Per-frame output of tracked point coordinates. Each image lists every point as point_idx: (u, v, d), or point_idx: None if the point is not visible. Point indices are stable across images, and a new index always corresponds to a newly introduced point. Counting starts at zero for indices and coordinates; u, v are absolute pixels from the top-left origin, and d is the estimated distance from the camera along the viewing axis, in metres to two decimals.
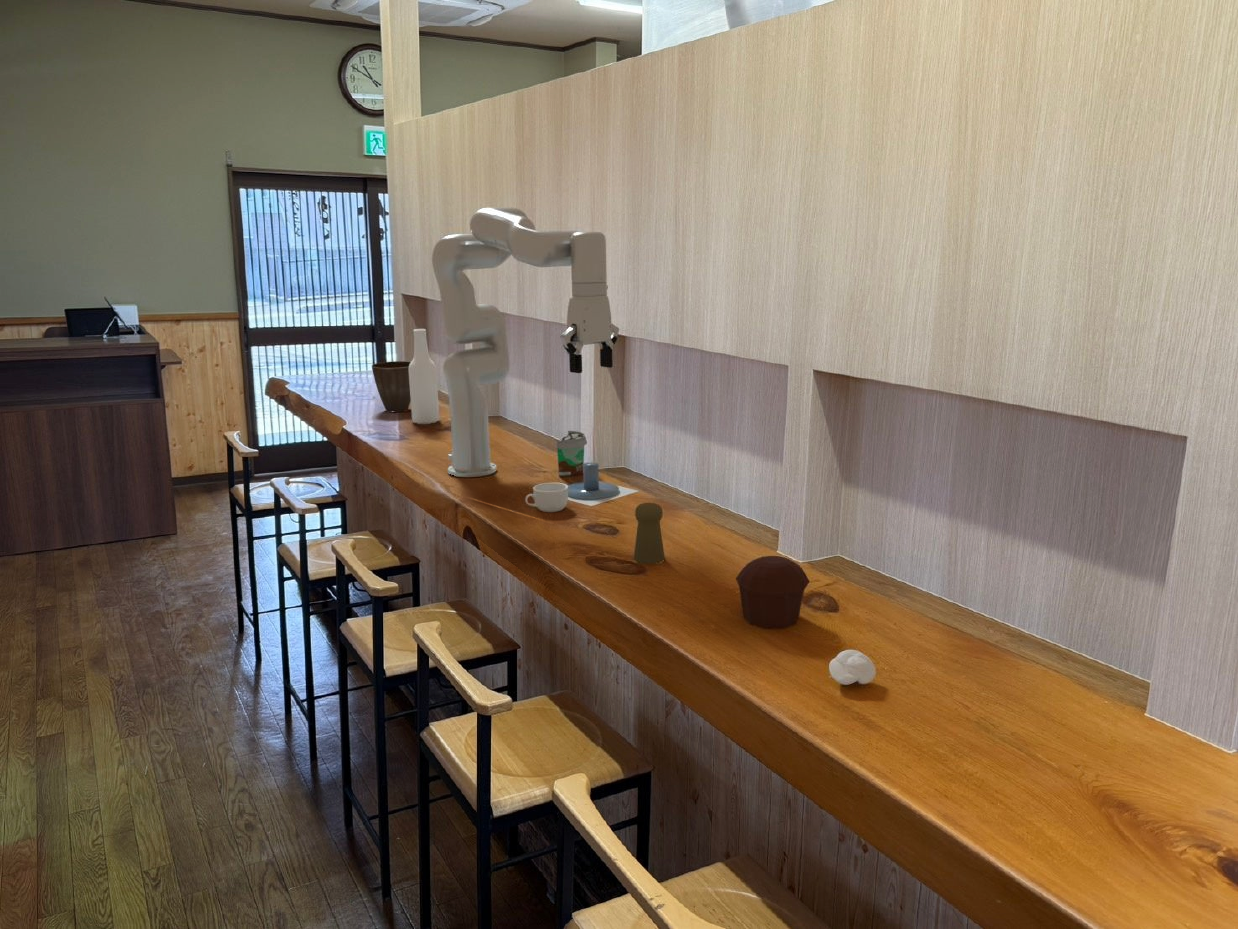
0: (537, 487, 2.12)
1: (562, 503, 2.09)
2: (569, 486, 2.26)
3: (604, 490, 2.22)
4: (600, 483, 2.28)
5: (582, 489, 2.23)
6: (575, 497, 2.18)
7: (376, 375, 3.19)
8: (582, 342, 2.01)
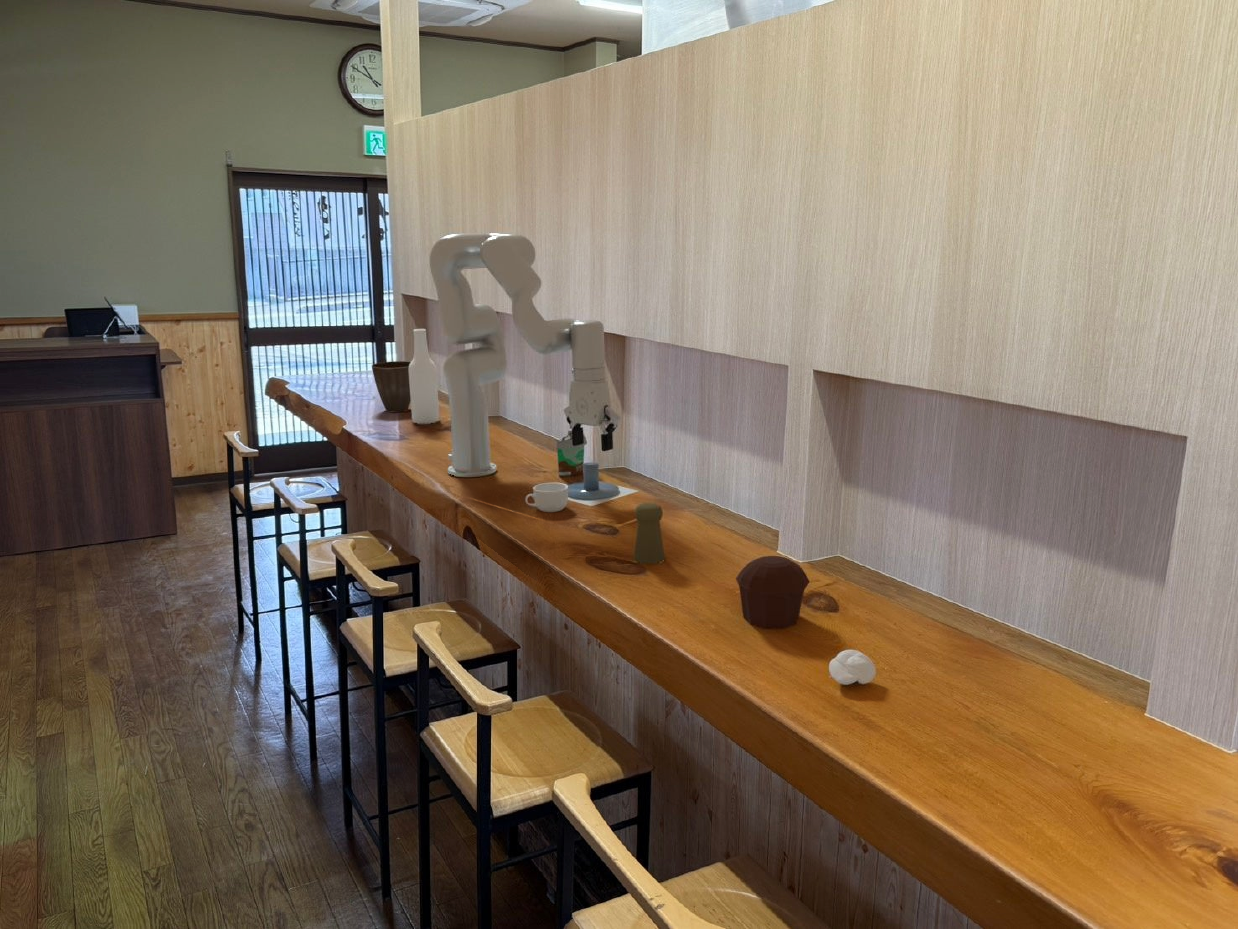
0: (537, 487, 2.12)
1: (562, 503, 2.09)
2: (569, 486, 2.26)
3: (604, 490, 2.22)
4: (600, 483, 2.28)
5: (582, 489, 2.23)
6: (575, 497, 2.18)
7: (376, 375, 3.19)
8: None
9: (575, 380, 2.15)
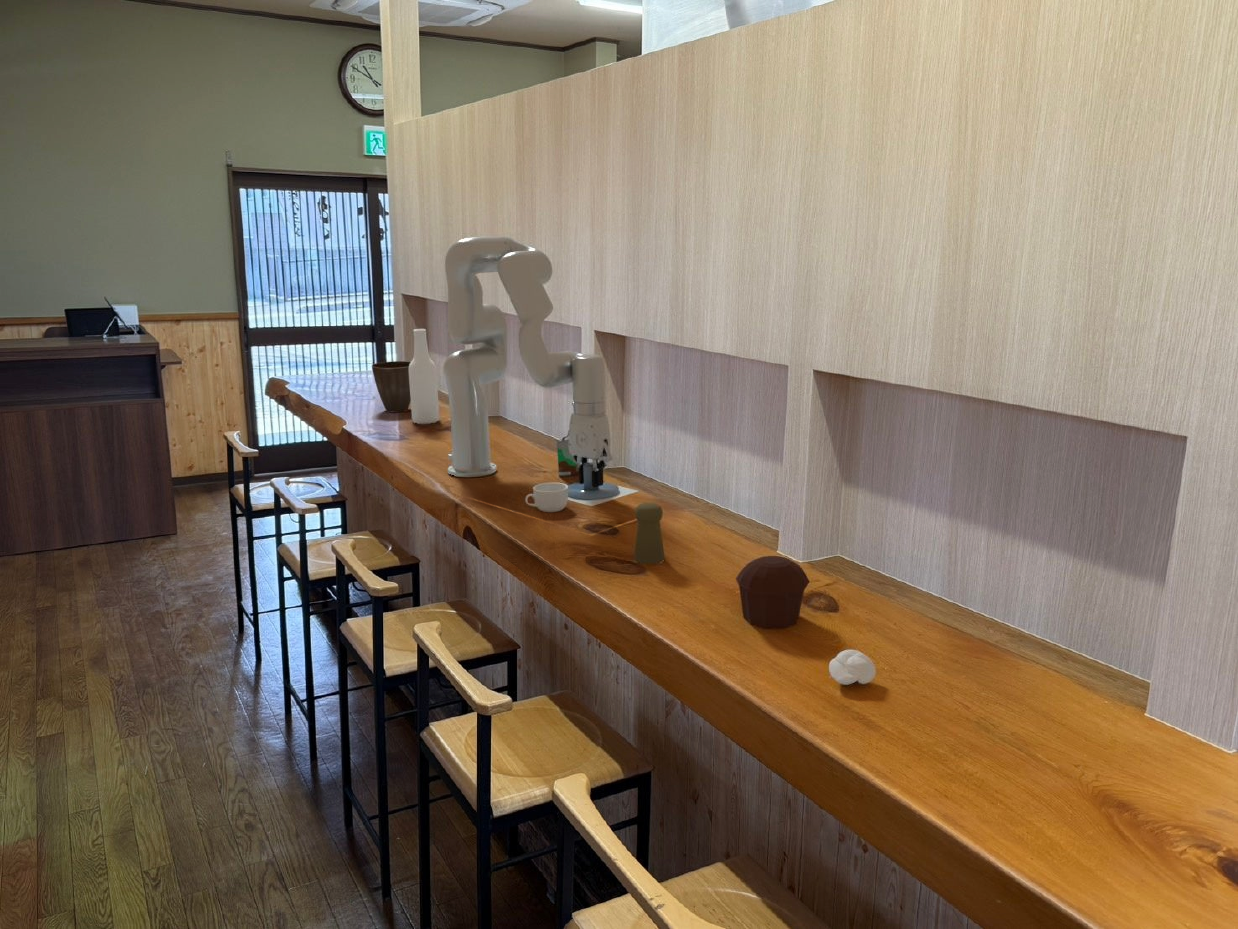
0: (537, 487, 2.12)
1: (562, 503, 2.09)
2: (569, 486, 2.26)
3: (604, 490, 2.22)
4: None
5: (582, 489, 2.23)
6: (575, 497, 2.18)
7: (376, 375, 3.19)
8: None
9: (575, 413, 2.17)
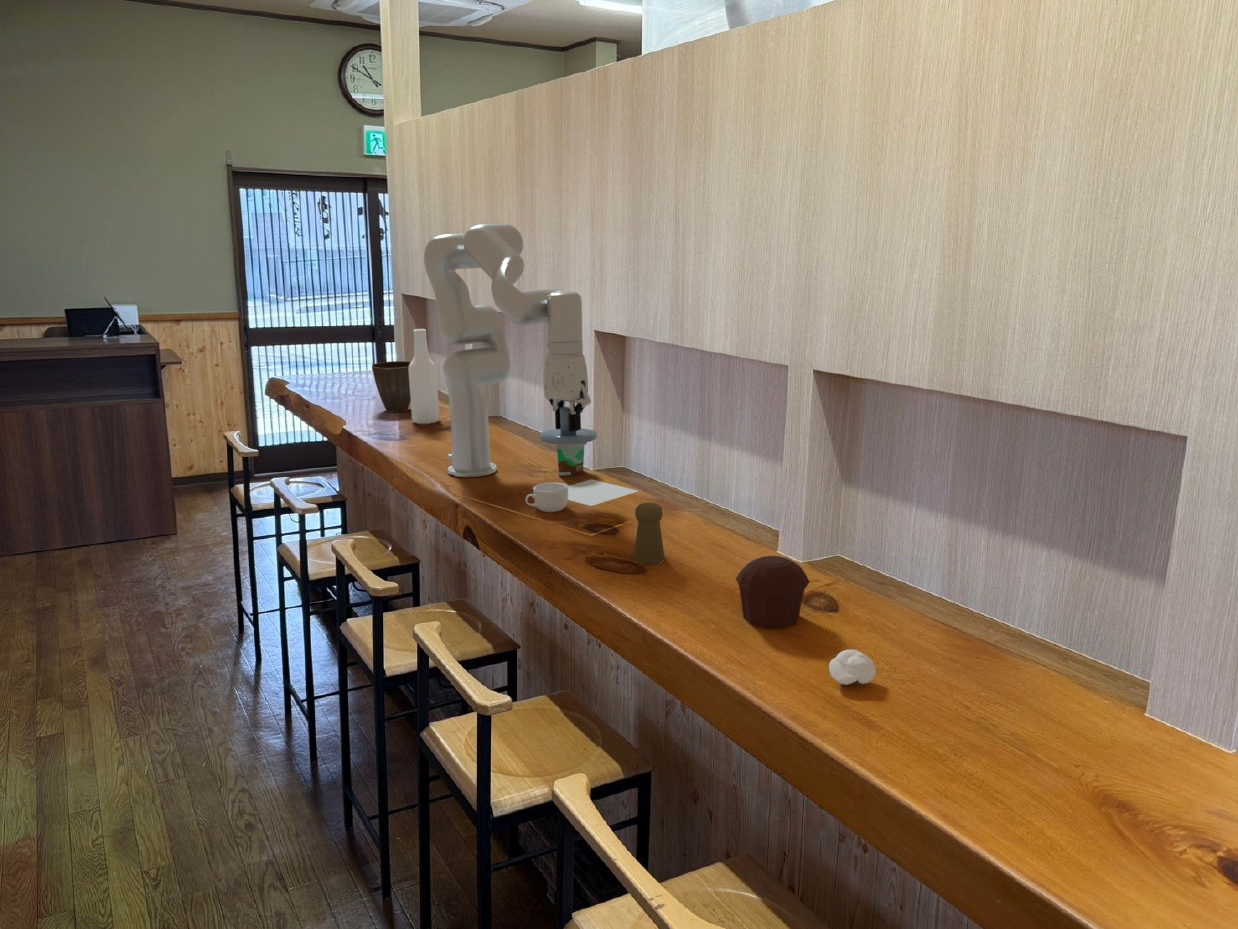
0: (537, 487, 2.12)
1: (562, 503, 2.09)
2: (545, 432, 2.16)
3: (582, 435, 2.12)
4: None
5: (559, 434, 2.13)
6: (552, 441, 2.08)
7: (376, 375, 3.19)
8: None
9: (551, 354, 2.07)
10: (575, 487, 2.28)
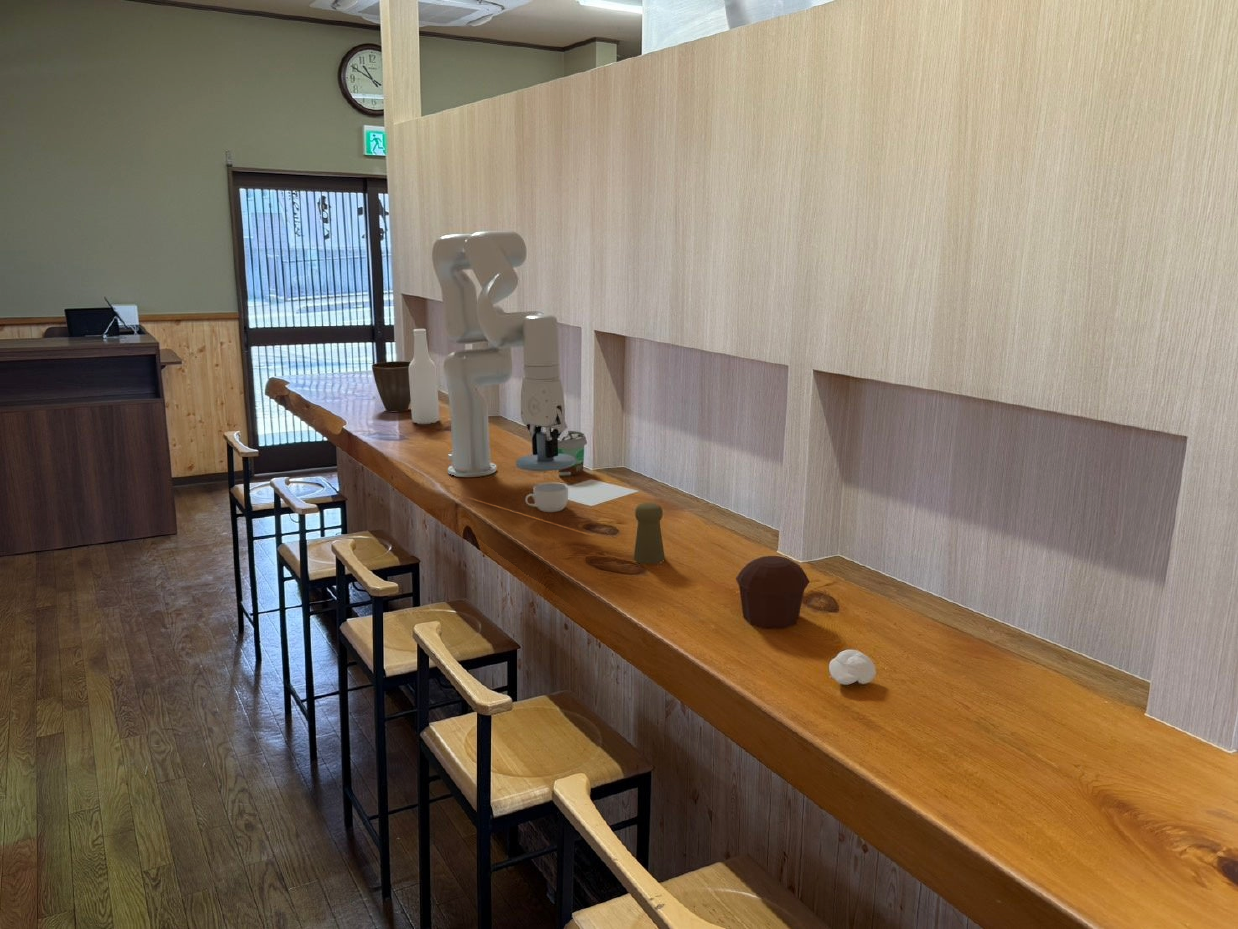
0: (537, 487, 2.12)
1: (562, 503, 2.09)
2: (522, 458, 2.10)
3: (559, 461, 2.07)
4: None
5: (535, 460, 2.08)
6: (527, 468, 2.03)
7: (376, 375, 3.19)
8: None
9: (526, 378, 2.02)
10: (575, 487, 2.28)
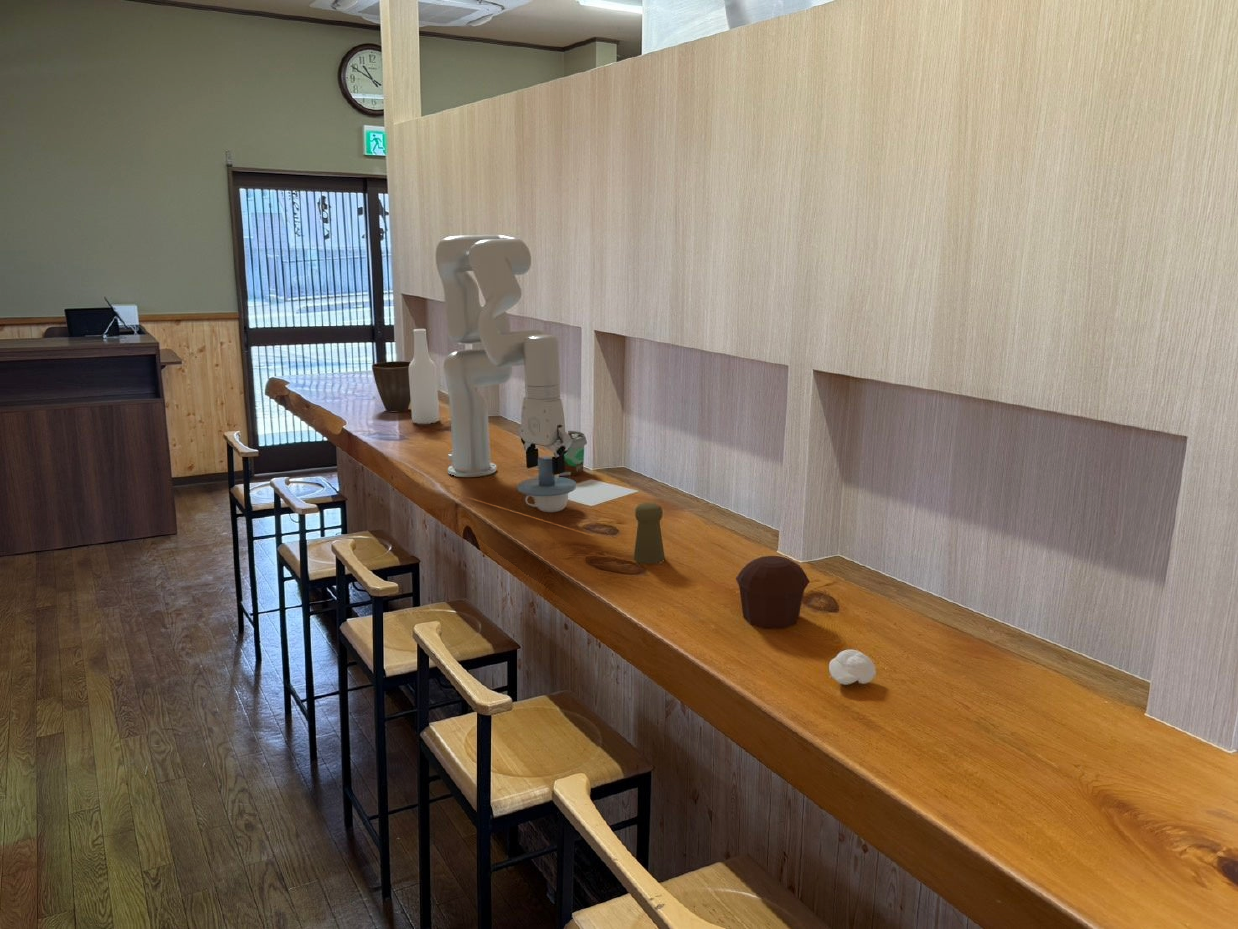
0: None
1: (562, 503, 2.09)
2: (524, 481, 2.12)
3: (560, 486, 2.08)
4: (557, 478, 2.14)
5: (537, 485, 2.10)
6: (528, 493, 2.05)
7: (376, 375, 3.19)
8: None
9: (527, 398, 2.03)
10: None
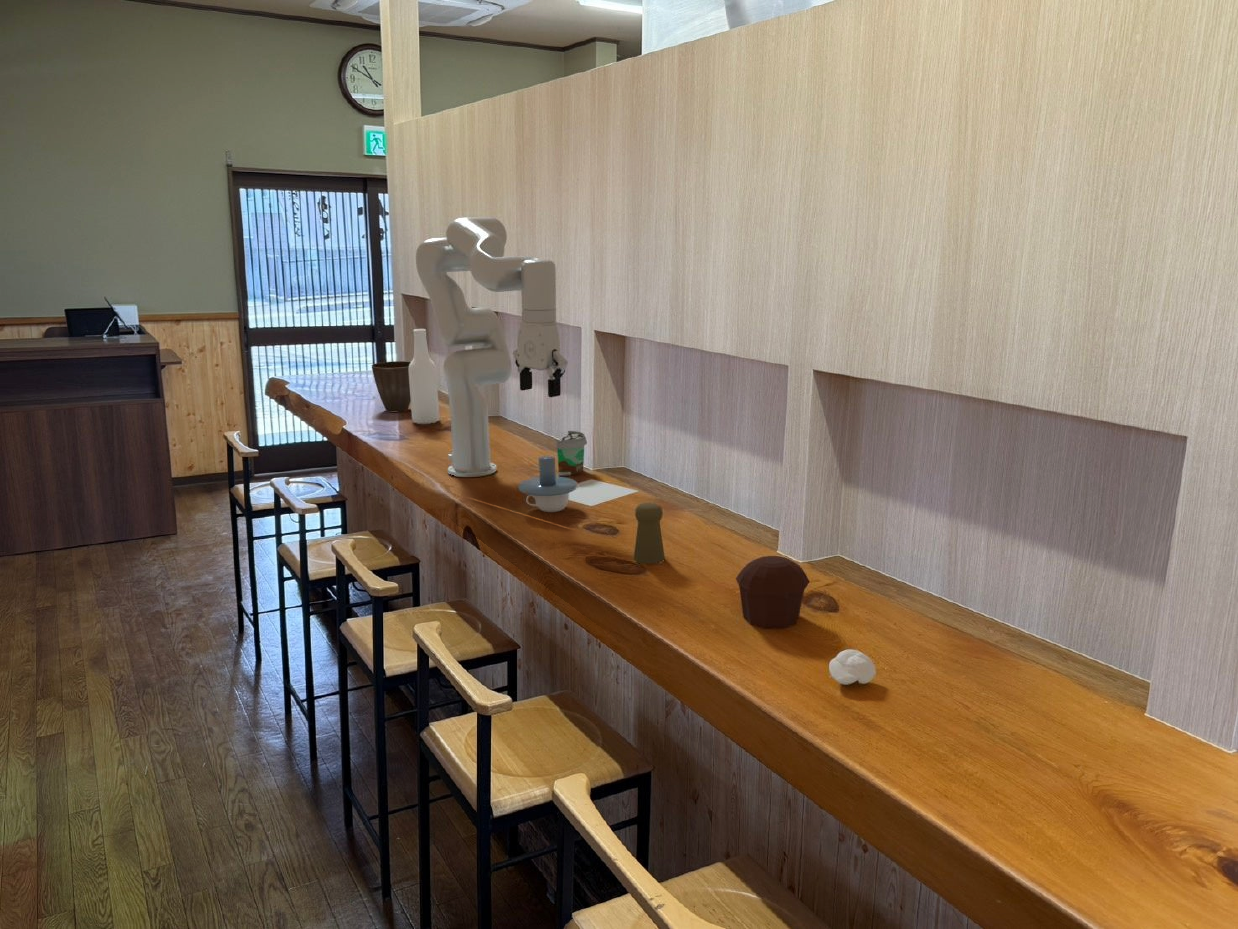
0: None
1: (563, 503, 2.09)
2: (525, 481, 2.12)
3: (561, 485, 2.08)
4: (558, 478, 2.14)
5: (538, 484, 2.10)
6: (529, 493, 2.05)
7: (376, 375, 3.19)
8: None
9: (523, 321, 2.06)
10: None
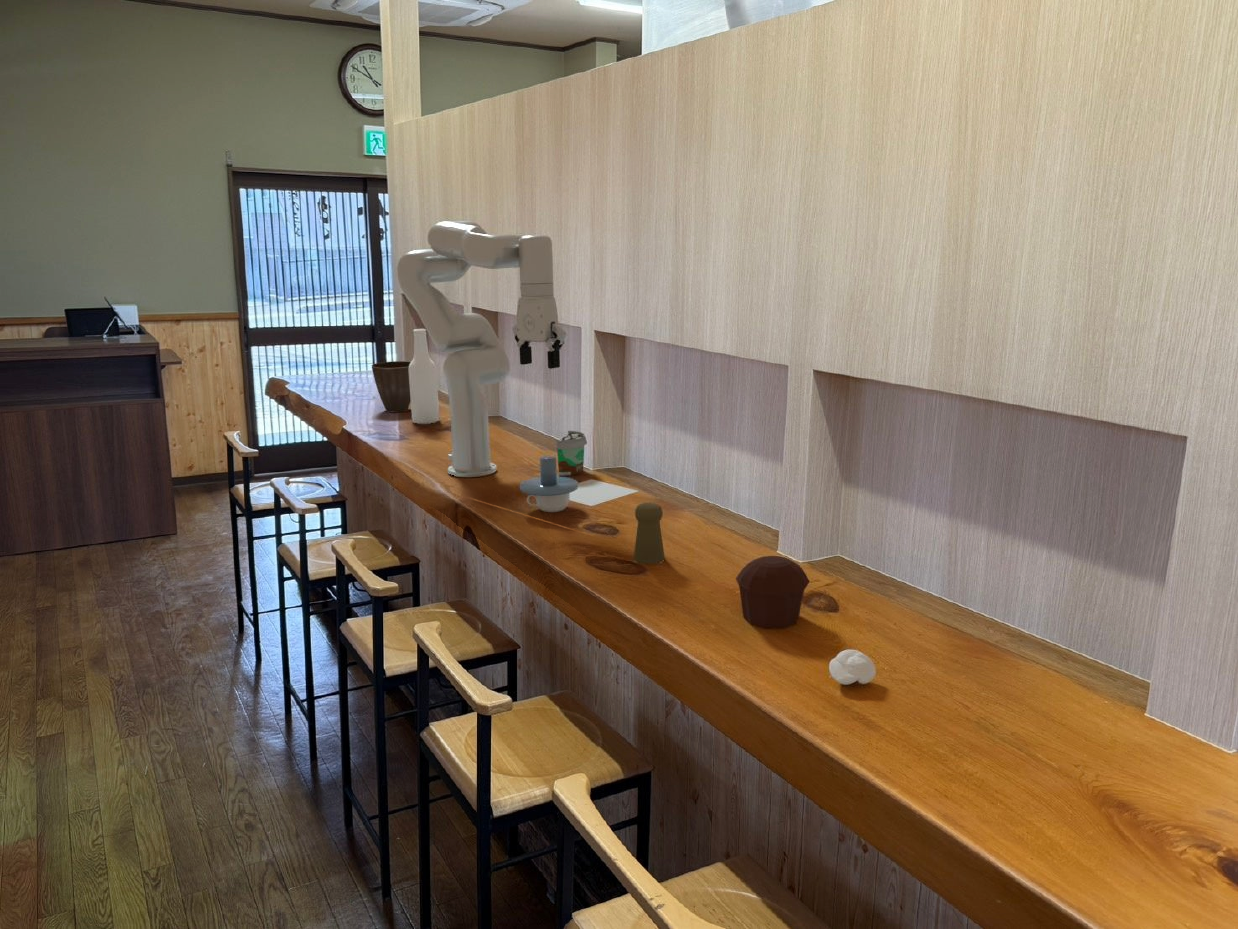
0: None
1: (564, 503, 2.09)
2: (526, 481, 2.12)
3: (562, 485, 2.09)
4: (559, 478, 2.14)
5: (539, 484, 2.10)
6: (530, 493, 2.05)
7: (376, 375, 3.19)
8: None
9: (522, 295, 2.13)
10: None
